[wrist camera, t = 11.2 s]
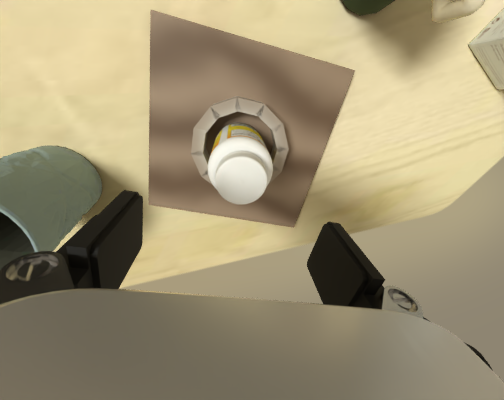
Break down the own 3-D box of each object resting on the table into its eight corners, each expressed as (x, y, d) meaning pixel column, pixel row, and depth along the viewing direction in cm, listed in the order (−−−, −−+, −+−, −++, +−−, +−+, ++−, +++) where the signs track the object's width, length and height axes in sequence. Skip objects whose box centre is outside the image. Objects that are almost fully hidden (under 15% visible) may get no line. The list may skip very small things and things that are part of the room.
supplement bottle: (228, 176, 27) (225, 223, 18) (205, 134, 24) (188, 165, 15) (270, 157, 26) (288, 197, 17) (251, 112, 23) (260, 131, 14)
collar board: (292, 222, 32) (298, 238, 29) (151, 200, 29) (141, 215, 26) (349, 71, 23) (368, 69, 20) (155, 13, 20) (139, 0, 17)
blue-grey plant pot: (5, 133, 24) (-174, 172, 13) (103, 143, 25) (8, 187, 15) (36, 211, 29) (-79, 285, 18) (117, 216, 30) (53, 289, 19)
